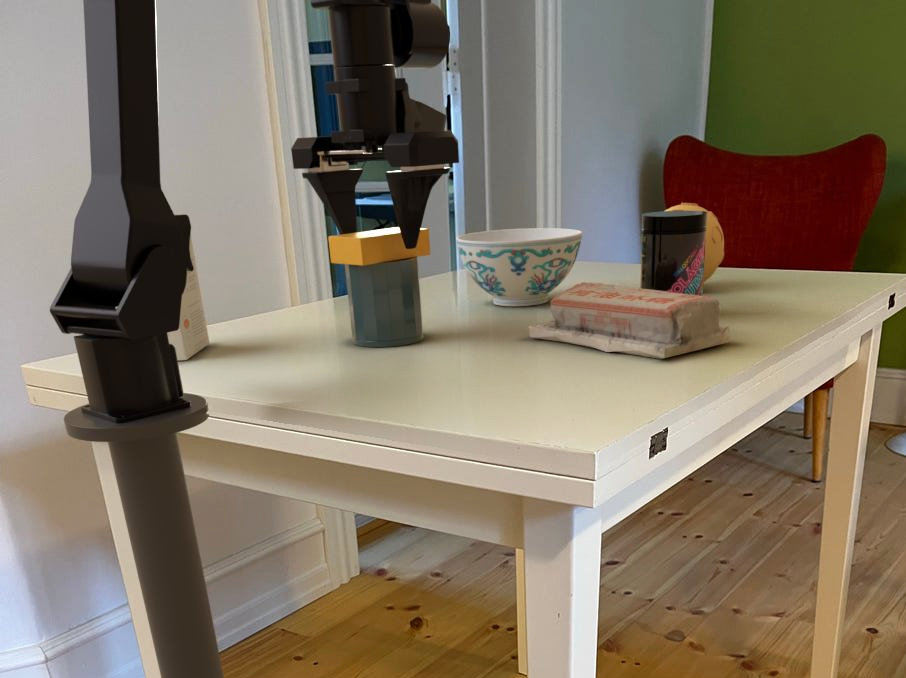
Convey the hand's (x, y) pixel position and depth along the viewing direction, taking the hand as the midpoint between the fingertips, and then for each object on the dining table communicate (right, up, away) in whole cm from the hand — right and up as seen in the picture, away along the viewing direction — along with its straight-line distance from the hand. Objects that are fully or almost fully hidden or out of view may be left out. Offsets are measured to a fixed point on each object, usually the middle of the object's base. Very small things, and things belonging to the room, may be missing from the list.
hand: (380, 246), depth 99 cm
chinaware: (+15, +2, +22) cm, 27 cm away
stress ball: (+36, +4, +25) cm, 44 cm away
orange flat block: (0, -1, 0) cm, 1 cm away
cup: (0, -8, +4) cm, 9 cm away
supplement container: (+31, -5, +8) cm, 32 cm away
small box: (-22, -10, +3) cm, 25 cm away
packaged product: (+24, -10, -2) cm, 27 cm away
